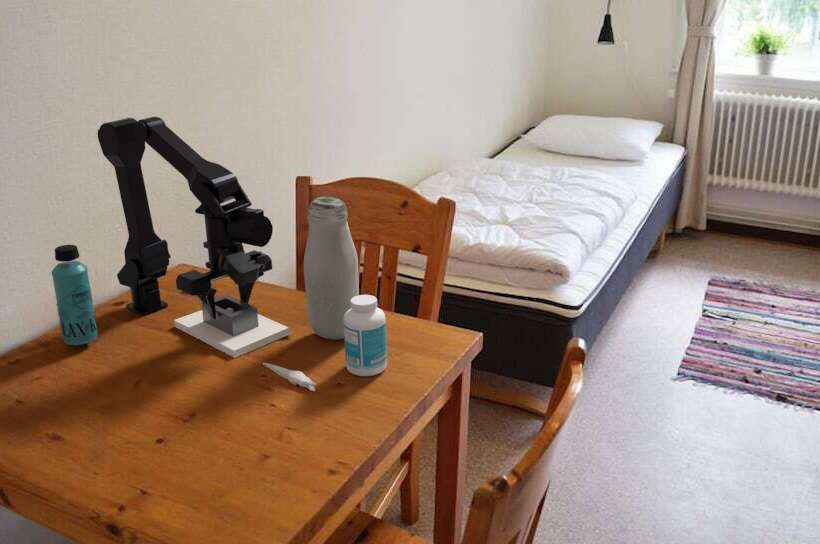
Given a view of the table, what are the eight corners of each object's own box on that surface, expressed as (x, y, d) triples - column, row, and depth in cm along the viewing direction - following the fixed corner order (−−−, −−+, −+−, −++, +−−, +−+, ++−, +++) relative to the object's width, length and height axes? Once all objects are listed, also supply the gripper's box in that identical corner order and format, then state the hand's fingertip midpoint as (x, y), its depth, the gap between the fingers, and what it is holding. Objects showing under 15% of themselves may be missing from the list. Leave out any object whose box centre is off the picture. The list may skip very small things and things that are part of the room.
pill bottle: (389, 359, 149) (388, 291, 144) (384, 379, 142) (382, 309, 137) (349, 357, 150) (346, 290, 145) (342, 377, 143) (339, 307, 138)
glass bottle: (364, 326, 162) (360, 191, 152) (352, 349, 153) (347, 207, 142) (317, 323, 164) (309, 189, 153) (302, 345, 154) (293, 205, 144)
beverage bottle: (56, 349, 154) (37, 250, 146) (81, 334, 160) (64, 239, 152) (83, 355, 152) (65, 255, 144) (107, 340, 157) (92, 243, 150)
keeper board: (175, 326, 163) (172, 304, 161) (228, 306, 171) (226, 285, 170) (234, 357, 150) (232, 334, 148) (289, 334, 159) (287, 311, 157)
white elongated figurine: (322, 388, 139) (321, 379, 139) (310, 394, 137) (309, 385, 137) (268, 364, 149) (267, 355, 148) (257, 370, 147) (255, 360, 147)
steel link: (203, 321, 161) (201, 303, 160) (228, 312, 165) (226, 294, 164) (233, 336, 155) (231, 317, 153) (258, 326, 159) (257, 307, 158)
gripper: (205, 260, 142) (213, 340, 148) (287, 234, 155) (292, 309, 161) (170, 246, 149) (179, 323, 155) (251, 222, 162) (257, 294, 168)
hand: (229, 312), depth 159 cm, fingers open, 7 cm apart
